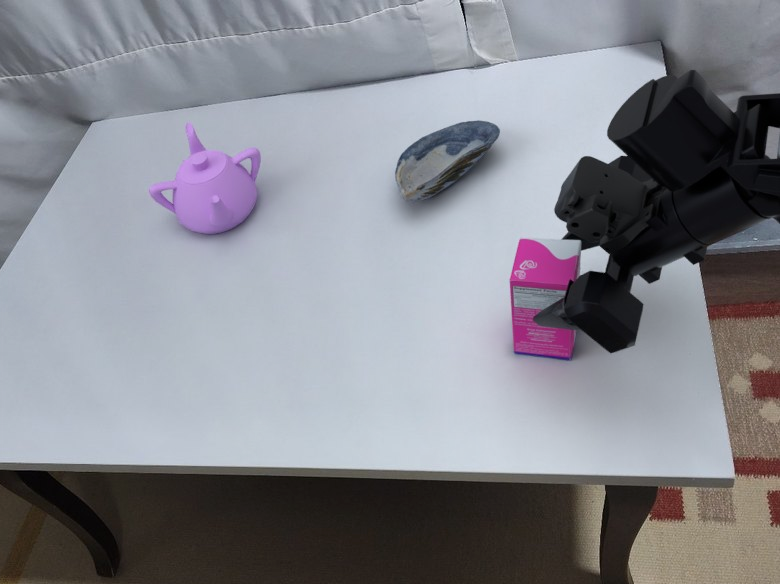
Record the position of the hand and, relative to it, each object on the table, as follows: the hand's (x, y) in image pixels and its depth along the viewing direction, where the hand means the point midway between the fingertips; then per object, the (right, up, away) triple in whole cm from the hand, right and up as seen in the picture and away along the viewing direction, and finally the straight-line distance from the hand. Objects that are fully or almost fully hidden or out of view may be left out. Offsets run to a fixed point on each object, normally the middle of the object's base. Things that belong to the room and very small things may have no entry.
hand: (547, 285), depth 72 cm
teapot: (-34, +13, +31) cm, 48 cm away
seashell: (-5, +16, +24) cm, 29 cm away
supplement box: (+2, -5, +6) cm, 8 cm away
